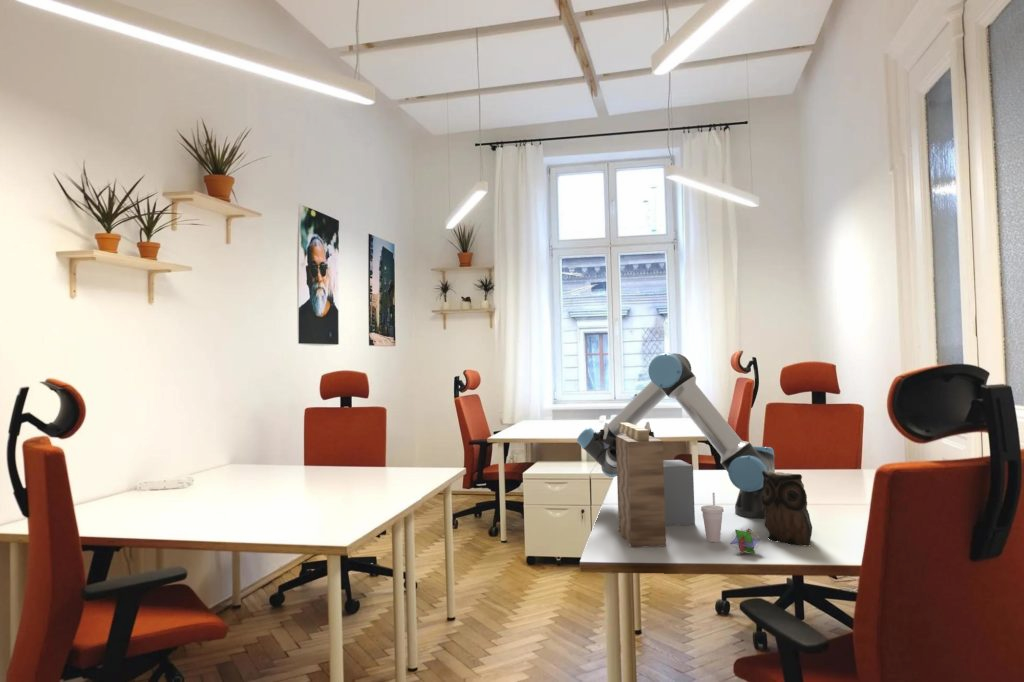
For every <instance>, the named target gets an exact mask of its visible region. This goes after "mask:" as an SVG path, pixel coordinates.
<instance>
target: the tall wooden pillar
mask: <svg viewBox="0 0 1024 682" xmlns="http://www.w3.org/2000/svg"><path fill="white" fill-rule="evenodd" d="M616 453H617V476H616V477H617V478H616V480H617V481H616V482H617V516H618V519H617V520H618V522H617V523H618V532H620V533H621V534H622V535H623V536H622V535H621V534H620V533H619V534H620V535H621V536H622V538H623V539H624V538H625V539H626V540H627V541H626V540H625V539H624V540H625V541H626V542H627V543H628V544H630V545H631V546H630V545H629V546H630V547H631V548H643V547H644V546H651V547H666V546H667V538H666V537H667V536H666V526H665V498H664V467H663V460H664V444H663V440H661V439H658V438H656V437H655V436H654V437H652V436H649V441H638V440H636V439H634V438H632V437H630V436H627V435H620V436H616ZM642 546H643V547H642Z"/></svg>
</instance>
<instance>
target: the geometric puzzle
mask: <svg viewBox="0 0 1024 682" xmlns="http://www.w3.org/2000/svg"><path fill="white" fill-rule="evenodd" d="M733 534H735V537H734V538H732V539H731V541H730V542H729V544H730V545H731V546H733V545H734V549H735V548H736V549H737V547H735V545H736V546H738V548H739V549H738V550H739V552H740V551H741V552H740V556H744V555H748V553H749V554H756V551H757V550H755V547H756V546H758V545H757V544H759V542H760V540H761V539H760V537H759V536H758V534H757V532H755V531H754V530H752V529H750V528H749V527H748V528H747V527H746V529H745V530H741V529H735V530H734V533H733ZM746 553H747V554H746Z"/></svg>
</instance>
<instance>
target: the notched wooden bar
mask: <svg viewBox="0 0 1024 682" xmlns="http://www.w3.org/2000/svg"><path fill="white" fill-rule="evenodd" d="M644 428H645V427H641V426H638V425H637V424H636V425H633V424H631V423H628V422H626V423H619V432H621V433H623V434H625V435H627V436H630V437H632V438H634V439H636V440H638V441H649V430H647V429H644Z"/></svg>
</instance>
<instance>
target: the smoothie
mask: <svg viewBox="0 0 1024 682" xmlns="http://www.w3.org/2000/svg"><path fill="white" fill-rule="evenodd" d="M715 497H716V496H715V492H712V505H710V504H707V505H702V506H700V507H701V508H700V511H701V512H702V519H703V525H704V532H705V536H706V537H705V538H706V541H707V542H709V543H719V541H720V542H721V536H722V535H721V533H722V532H721V531H722V523H723V522H722V521H723V512H724V507H723V506H720V505H716V499H715Z"/></svg>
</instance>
